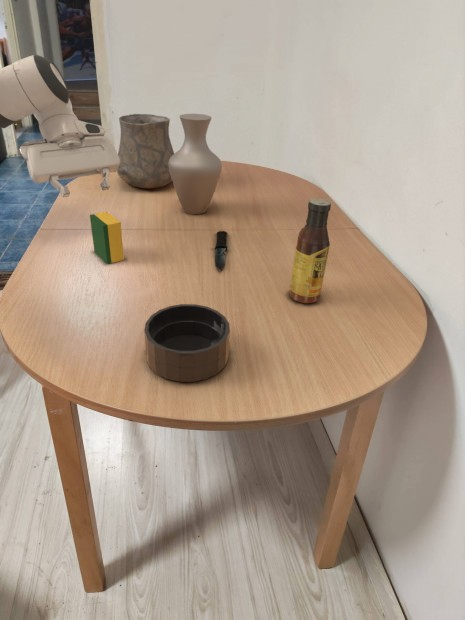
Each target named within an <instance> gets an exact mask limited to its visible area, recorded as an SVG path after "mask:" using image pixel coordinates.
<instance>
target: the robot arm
mask: <svg viewBox="0 0 465 620" xmlns="http://www.w3.org/2000/svg"><path fill="white" fill-rule="evenodd" d="M31 115H33V116H34V118H35V119H36V120H37V122H38V128H39V131H40V132H39V133H40V134H41V137H42V139H36V140H25V141H24V142H23V143H22V144H21V145H20V146H19V152H20V155H21V157H22V158H23V159H24V160H25V161H26V167H27V170H28V174H29V177H30V179H31V181H33V182H34V183H35V184H41V183H42V184H43V183H48V182H49V183H50V185H51V186H52V187H53V188H54V189H55V190H57V191H58V192H59V194H60V196H61V198H68V197H70V195H71V192H70V190H69V187H68V186H67V185H65V186H63V184H61V182H60V181H61V180H70V179H76V178H82V177H90V176H96V175H100V176H101V178H103V180H101V181H100V188H101V191H109V190H110V189H111V184H110V182H109V178H110V173H116V172H117V169H118V167H119V165H120V158H119V155H118V152H117V149H116V147H115V146H114V144H113V142H112V141H111V140H110V138H109V137H107V136H105V128H104V126H102V125H100V124H95V123H90V122H86V121H83V120H79V118H78V116H77V115H76V114H75V113H74V111H73V105H72V101H71V99H70V91H69V89H68V85H67V83H66V81H65V79H64V77H63V75H62V72H61V71H60V69H59V68H58V67H57V65H56V64H55V63H54V62H53V61H51V60H49V59H48V58H46V57H44V56H41V55H38V54H33V55H29V56H26V57H24V58H21V59H19V60H16V61H14V62H13V63H10V64H8V65H6V66H4V67H0V128H1V129H6V128H8V127H10V126H12V125H14V124H15V123H17V122H19V121H20V120H22V119H24V118H27V117H30V116H31Z"/></svg>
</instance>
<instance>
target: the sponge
mask: <svg viewBox="0 0 465 620" xmlns="http://www.w3.org/2000/svg"><path fill="white" fill-rule="evenodd" d="M89 217H90V218H89V220H90V226H91V227H90V228H91V236H92V243H93V251H94V253H95V254H96V255H97V256H98V257H99V258H100V259H101V260H102V261H103V262H105V264H107V265H109V264H113V263H118V262H121V261H125V255H124V254H125V253H124V244H123V232H122V231H123V230H122V223H121V221H120V220H118V219H117V217H114V216H113V215H112V214H111V213H109V212H108V211H103V212H98V213H94V214H89Z"/></svg>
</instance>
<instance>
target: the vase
mask: <svg viewBox="0 0 465 620" xmlns="http://www.w3.org/2000/svg"><path fill="white" fill-rule="evenodd" d="M179 119H180V123H181V125H182V128H183V133H184V141H183V143H182V146H181V147H180V149H179V150H177V151H176V152H174V154H173V155H172V156H171V157H170V159H169V162H168V167H169V171H170V175H171V178H172V181H171V182H172V184H173V187H174V190H175V194H176V196H177V199H178V201H179V203H180V205H181V207H182V210H183V212H184V213H187V214H188V215H189V214H190V215H202V214H204V213H207V210H208V207H209V206H210V204H211V201H212V199H213V197H214V194H215V192H216V188H217V185H218V182H219V179H220V176H221V173H222V170H223V169H222V168H223V163H222V160H221V158H220V157H219V156H217V155H216V154H215V153H214V152H213V151H212V150H211V149H210V147H209V145H208V142H207V133H208V129H209V127H210V124H211V121H212V116H211V115H208V114H202V113H183V114H180V115H179Z"/></svg>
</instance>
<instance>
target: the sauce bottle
mask: <svg viewBox="0 0 465 620" xmlns="http://www.w3.org/2000/svg"><path fill="white" fill-rule="evenodd" d="M331 207H332V203H331V201H330V200H328V199H324V198H311V199H309V200H308V203H307V209H308V211H307V217H306V220H305V221H306V222H305V224H304V225H303V227H302V228H301V229H300V231H299V232H298V234H297V241H296V246H295V251H294V257H293V263H292V264H293V265H292V271H291V277H290V283H289V296H290V298H291V299H292V300H293V301H295V302H296V303H297V302H298V303H301V304H313V303H316V302H317V301H318V300H319V298H320V295H321V293H322V288H323V283H324V278H325V272H326V267H327V262H328V257H329V252H330V247H331V246H330V245H331V242H330V237H329V231H328V217H329V213H330V211H331Z"/></svg>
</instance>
